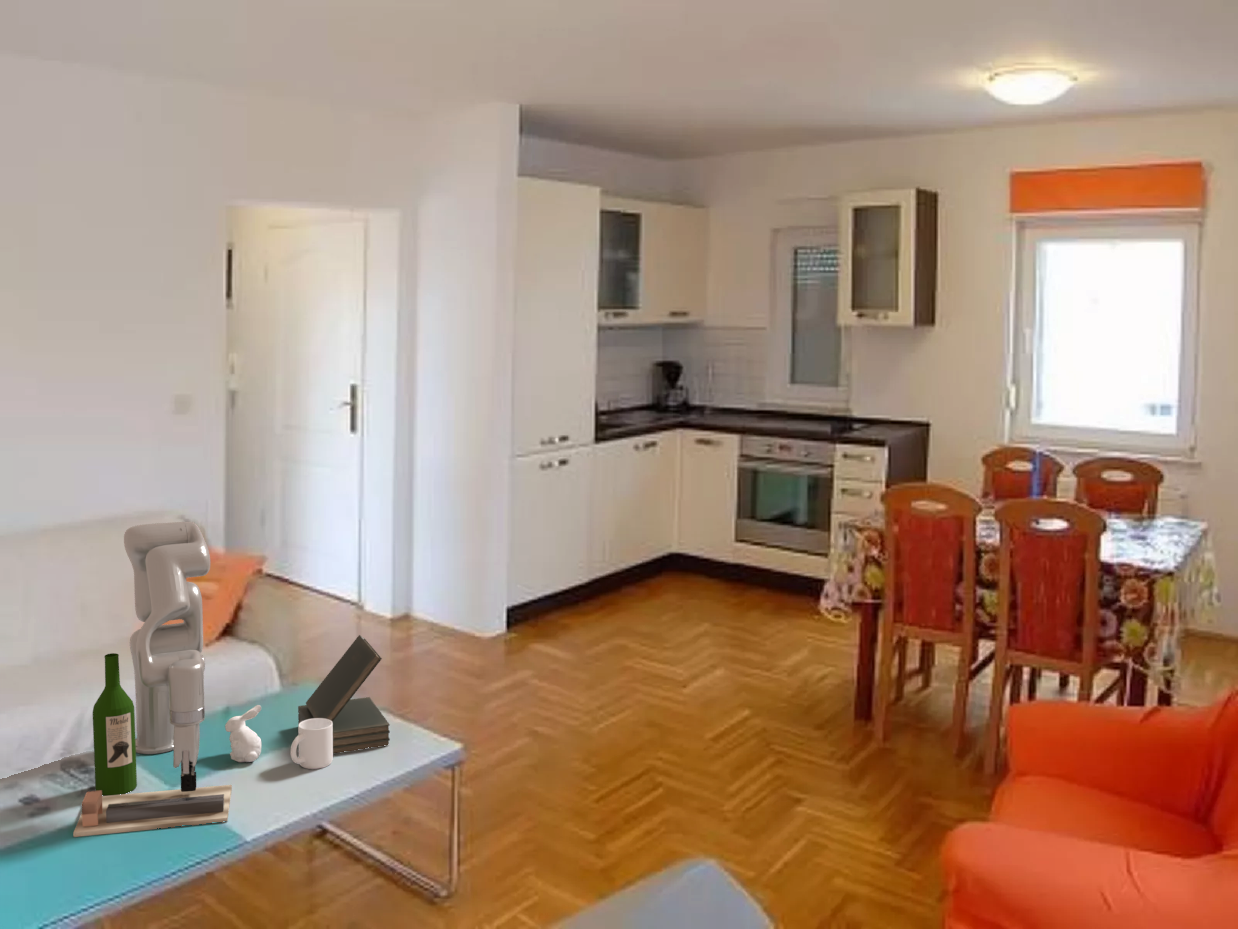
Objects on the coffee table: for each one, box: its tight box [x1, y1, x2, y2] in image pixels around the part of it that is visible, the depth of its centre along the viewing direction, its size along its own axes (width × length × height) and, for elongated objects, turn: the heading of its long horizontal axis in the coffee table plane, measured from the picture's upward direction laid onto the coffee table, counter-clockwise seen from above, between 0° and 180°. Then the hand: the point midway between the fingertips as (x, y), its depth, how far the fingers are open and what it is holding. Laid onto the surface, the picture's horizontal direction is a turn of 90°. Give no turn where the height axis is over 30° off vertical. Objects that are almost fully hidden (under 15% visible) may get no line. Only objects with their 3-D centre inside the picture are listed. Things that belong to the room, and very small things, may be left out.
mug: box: [290, 718, 334, 770], centre depth 275 cm, size 12×8×10 cm
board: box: [72, 784, 233, 838], centre depth 248 cm, size 18×31×4 cm, turn 106°
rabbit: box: [224, 704, 262, 763], centre depth 279 cm, size 12×9×12 cm
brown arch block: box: [81, 790, 103, 827], centre depth 240 cm, size 6×3×5 cm, turn 16°
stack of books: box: [297, 634, 391, 755], centre depth 294 cm, size 23×20×25 cm
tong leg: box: [107, 794, 224, 808], centre depth 246 cm, size 24×2×2 cm, turn 106°
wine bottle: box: [92, 652, 138, 796], centre depth 257 cm, size 9×9×32 cm
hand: (188, 789), depth 255 cm, fingers closed
